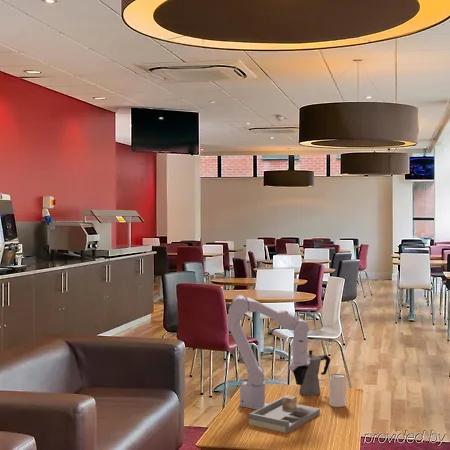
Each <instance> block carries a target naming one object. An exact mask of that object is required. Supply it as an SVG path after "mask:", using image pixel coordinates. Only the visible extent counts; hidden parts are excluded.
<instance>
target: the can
mask: <svg viewBox="0 0 450 450" xmlns="http://www.w3.org/2000/svg"><path fill="white" fill-rule="evenodd" d="M328 395H329V399H328V401H329V403H328V404H329V405H330V407H333V408H344V407H345V406H346V405H347V402H346V401H347V379H346V374H343V373H332V374H330V378H329V394H328Z"/></svg>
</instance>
